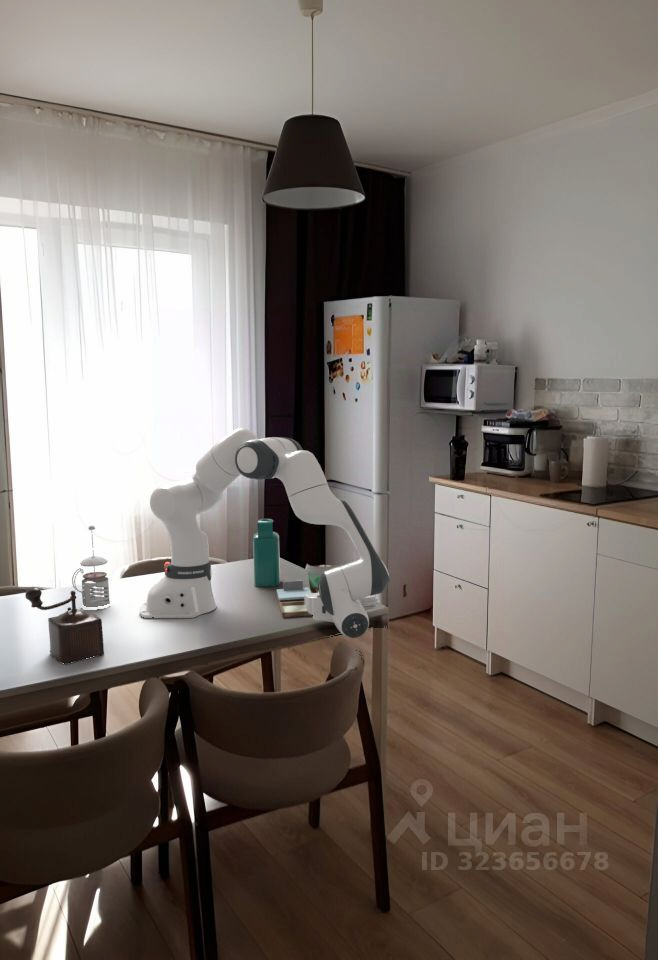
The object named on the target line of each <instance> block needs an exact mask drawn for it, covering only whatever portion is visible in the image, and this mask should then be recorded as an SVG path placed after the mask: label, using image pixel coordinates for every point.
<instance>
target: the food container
mask: <svg viewBox="0 0 658 960" xmlns="http://www.w3.org/2000/svg"><path fill="white" fill-rule="evenodd" d="M343 565H344V564H343V562H341V563H340V564H338V565H337V564H336V565H330V564H320V565H310V564H308V563H306V565H305V569H304V570H305V571H306V572H307V576H308V583H309V589H310V591H311V593H318V591H319V590H318V582H319V579H320V576H321V574H322V573H323V572H325V571H327V570H330V569H333V568H336V567H339V566H343Z"/></svg>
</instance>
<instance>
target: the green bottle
mask: <svg viewBox="0 0 658 960" xmlns="http://www.w3.org/2000/svg"><path fill="white" fill-rule="evenodd" d="M273 522H274V520H273V519H272V518H261V519H258V520H257V532H256V533H254V534H253V539H252V552H253V556H252V557H253V579H254V580H253V581H254V582H253V583H254V586H256V587H257V588H268V587H270V588H271V587H272V588H273V587H278V586H280V584H281V568H280V567H281V566H280V565H281V563H280V561H281V560H280V558H281V557H280V535H279V533H278V532H276V531H274V530H273V525H274V524H273Z"/></svg>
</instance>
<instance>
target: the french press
mask: <svg viewBox="0 0 658 960" xmlns="http://www.w3.org/2000/svg"><path fill="white" fill-rule="evenodd" d="M88 530H89V531H91V532H93V530H96V527H95V526H94V525H90V526H89V527H88ZM93 539H94V537H93V535H91V544H92V547H94V540H93ZM108 562H109V560H108V559H106V558H105V557H102V556H95V553H94V551H92V556H90V557H87V558H85V559H83V560H82V561H80V562H79V564H80V565H81V567H93V571H92V572H86V573H84V569H83V568H77V569H76V570H75V571H74V573H73V576H72V579H71V582H72V583H71V584H72V587H73V588H74V589H75V590H74V591H77V592H79V593H81V597H82V598H81V599H82V604H83V605H84V606H86V607H98V606H104V605H107V604H110V601H111V600H110V590H109V584H110V583H109V578H108V577H106V576H108V575H107V574H108V573H106V572H104V571H95V567H99V566H103V565H105V564H107V563H108ZM79 573H81V574H83V575H82V578H83V579H82V580H81V590H82V591H81V590H79V589H78V588H77V586H76V579H77V578H76V577H77V576H78V574H79Z"/></svg>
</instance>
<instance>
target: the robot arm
mask: <svg viewBox="0 0 658 960" xmlns="http://www.w3.org/2000/svg"><path fill="white" fill-rule="evenodd" d="M239 476H242V477H245V478H247V479H251V480H256V481H258V480H259V481H260V480H271V479H274V478H277V479H278V480H279V481H281V482H282V484H283V486H284V488H285V492H286V494H287V497H288V501H289V503H290V506H291V508H292V511H293V513H294V514H295V517H297V518H298V519H299V520H301V521H302V522H305V523H306V524H311V525H312V524H313V525H325V526H327V525H328V526H329V525H330V526H335V527H336V526H337V527H339V528H341V529H343V530H344V531H346V533H347V535H348V536H349V538H350V539H351V541H352V543H353V545H354V547H355V548H356V551H357V552H358V554H359V559H357V560H355V561H351V562H349V563H346V564H343V566H339V567H336V568H333V569H330V570H327V571H325V572H323V573H322V574H321V576H320V579H319V582H318V590H319V591H318V593H308V594H305V595H304V604H305V608H306V610H307V611H308V613H310V614H311V615H313V616H312V619H313V620H315V621H319V622H320V621H323V622H328V623H329V622H330V623H334V625H335V627H336V629H337V630H338V631H339V632H340V633H341V635H342V636H345V637H346V638H349V639H357V638H359V637H362V636H363V635H364V634H365V633H366V632H367V631H368V629H369V625H370V618H369V615H368V612H367V610H372V609H375V608H376V607H377V606H380V605H381V600H379V599H377V596H376V595H380V594H383V593H384V592H385V590H386V589H387V587H388V586H389V584H390V581H391V579H390V574H389V570H388V568H387V566H386V564H385V563H384V562H383V560H382V559H381V557H380V556H379V555H378V553H377V551H376V550H375V547H374V546H373V544H372V542H371V541H370V539H369V537H368V535H367V533H366V531H365V530H364V527H363V526H362V524H361V523H360V521H359V519H358V517H357V515H356V514H355V511H354V510H353V509H352V507H351V506H350V505H349V504H348V502H346V501H345V500H343V499H339V498H337V496H335V495H334V494H333V492H332V490H331V489H330V487H329V484H328V481H327V478H326V476H325V473H324V471H323V470H322V467H321V464H320V463H319V462H318V459H317V458H316V457H315V455H314V453H313V452H310V451H309V450H304V449H303V448H302V446H301V444H300V443H299V442H298V441H296V440H294V439H292V438H289V437H287V436H286V437H285V436H284V437H282V436H281V437H279V436H278V437H277V436H275V437H274V436H272V437H271V436H270V437H263V438H258V437H257V435H256V434H255V433H254V432H253V431H252V430H250V429H248V428H245V427H239V428H236V429H234V430H232V431H230V432H228V434H226V435H224V436H223V437H222V438H221V439H220V440H218V441H217V442H216V443H215V444H214V445H213V446H212V447H211V448H210V449H209V450H207V452H206V453H205V454H204V455H203V456H202V457H201V458H200V459H199V460H197V463H196V465H195V473H194V474H193V475H192V476H190V477H187V478H186V479H182V480H177V481H172V482H168V483H165V484H163V485H161V486H159V487H158V488H156V489H154V490H153V491H152V493H151V495H150V498H149V506H150V509H151V512H152V514H153V515H154V517H156V518H157V519H159V520H160V521H161V522H162V524H163V525H164V527H165V529H166V532H167V534H168V537H169V538H168V539H169V547H170V558H171V562H170V561H166V562H165V563H164V565H163V568H164V577H163V578H161V579H160V580H159V581H157V583H155V584H154V585H153V586H152V587H151V588H150V589H149V591H148V593H147V597H146V602H144V603H143V604H142V605H141V606H140V607H139V612H140V613H139V616H140V615H141V616H142V617H141V616H140V617H141V618H143V617H144V618H143V619H193V618H197V617H199V616H200V615H203V614H207V613H210V612H213V611H214V610H216V608H218V607H217V603H216V600H215V596H214V592H213V588H212V581H211V580H212V577H213V576H212V575H213V574H212V573H213V571H212V563H211V560H210V554H209V553H210V551H209V547H210V546H209V537H208V535H207V533H206V532H205V531H203V530H202V529H201V528H199V525H198V522H197V516H199V515H203V514H207V513H209V512H211V511H212V510H214V509H215V508H217V507H219V506H220V504H221V503H222V501H223V497H224V492H225V491H226V489H227V488H228V487H229V486H230V485H231V484H232V483H233V482H234V481H236V479H238V478H239ZM152 617H154V618H152Z"/></svg>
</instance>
